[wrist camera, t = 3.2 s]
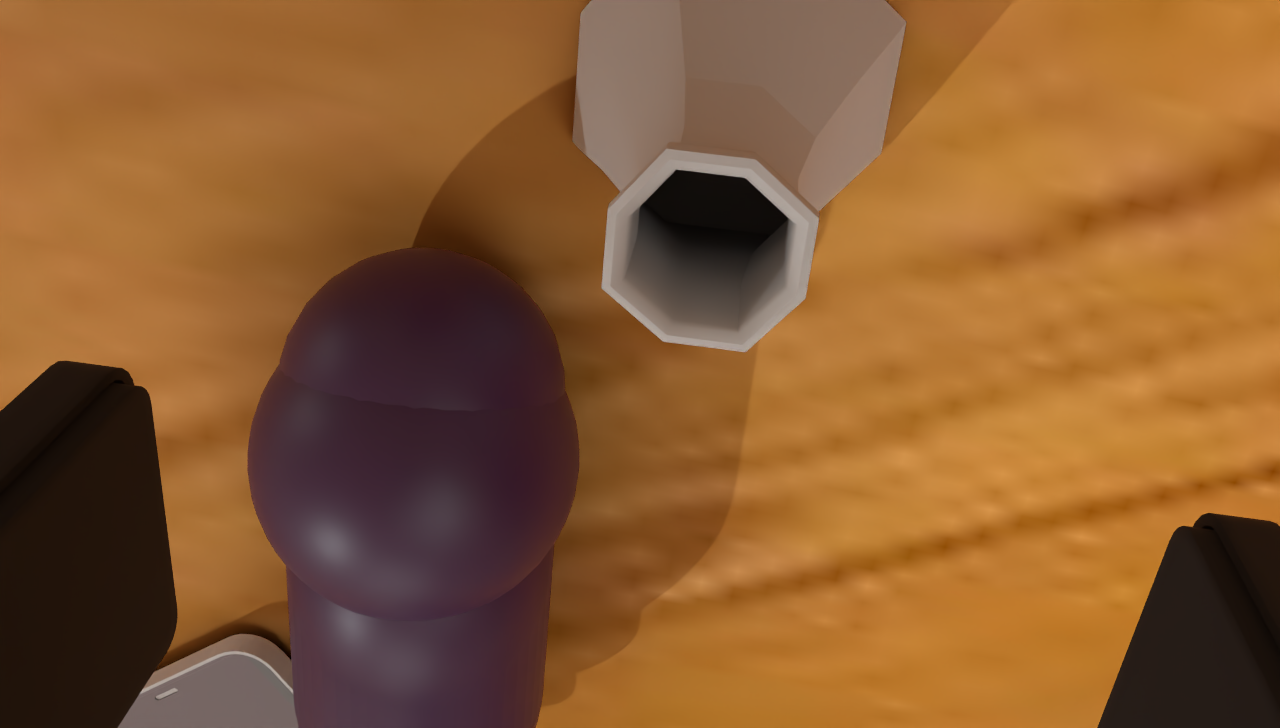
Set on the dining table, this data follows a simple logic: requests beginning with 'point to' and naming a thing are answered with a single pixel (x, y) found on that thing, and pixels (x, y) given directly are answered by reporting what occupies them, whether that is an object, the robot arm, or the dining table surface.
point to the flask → (727, 148)
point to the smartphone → (220, 689)
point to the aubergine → (416, 493)
